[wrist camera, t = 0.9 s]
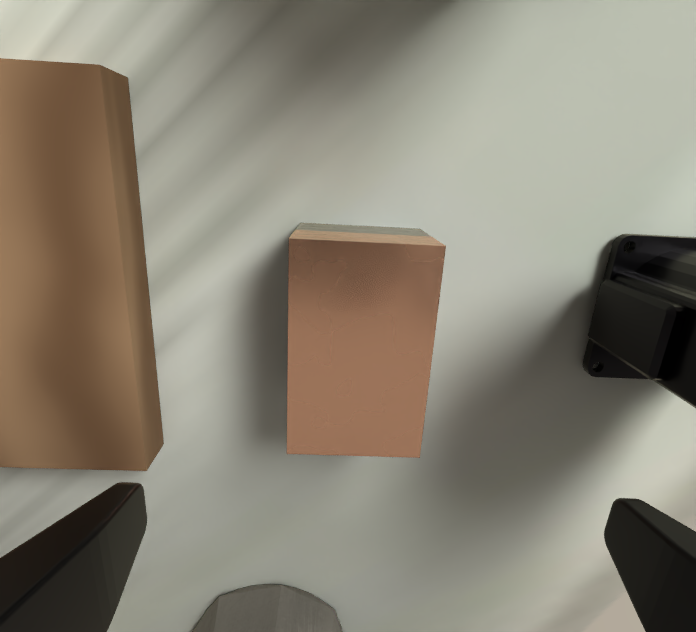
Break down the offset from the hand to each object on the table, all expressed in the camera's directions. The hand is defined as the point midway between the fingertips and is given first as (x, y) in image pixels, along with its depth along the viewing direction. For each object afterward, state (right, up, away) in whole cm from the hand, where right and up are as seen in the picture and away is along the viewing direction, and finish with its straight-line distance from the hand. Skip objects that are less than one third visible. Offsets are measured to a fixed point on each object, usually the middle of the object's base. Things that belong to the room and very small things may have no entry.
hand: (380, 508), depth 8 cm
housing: (0, +4, +11) cm, 12 cm away
